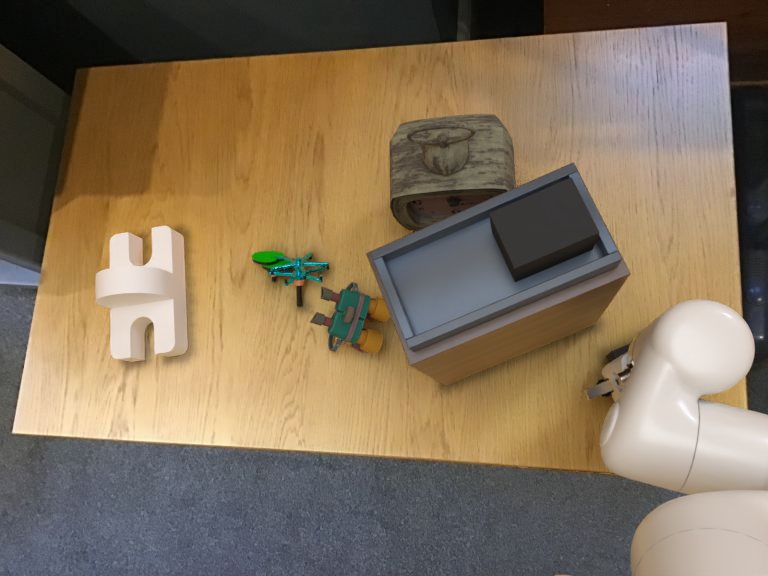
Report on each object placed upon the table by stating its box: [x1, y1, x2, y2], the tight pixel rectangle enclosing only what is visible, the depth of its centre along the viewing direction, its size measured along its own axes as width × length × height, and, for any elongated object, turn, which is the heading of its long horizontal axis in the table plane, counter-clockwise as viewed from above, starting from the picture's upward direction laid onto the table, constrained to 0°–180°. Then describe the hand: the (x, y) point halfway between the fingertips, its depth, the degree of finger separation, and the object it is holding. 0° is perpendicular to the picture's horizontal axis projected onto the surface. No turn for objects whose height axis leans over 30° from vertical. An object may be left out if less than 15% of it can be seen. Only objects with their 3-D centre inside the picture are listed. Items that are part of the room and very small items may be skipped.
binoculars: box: [309, 281, 391, 355], centre depth 83 cm, size 9×9×10 cm
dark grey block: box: [489, 178, 599, 282], centre depth 53 cm, size 5×7×5 cm
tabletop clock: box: [388, 113, 517, 232], centre depth 76 cm, size 14×9×25 cm, turn 90°
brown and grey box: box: [365, 162, 631, 387], centre depth 69 cm, size 11×20×31 cm, turn 111°
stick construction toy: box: [251, 250, 330, 308], centre depth 89 cm, size 12×7×8 cm
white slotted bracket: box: [94, 225, 189, 363], centre depth 89 cm, size 10×18×10 cm, turn 6°
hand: (638, 374), depth 79 cm, fingers open, 5 cm apart
